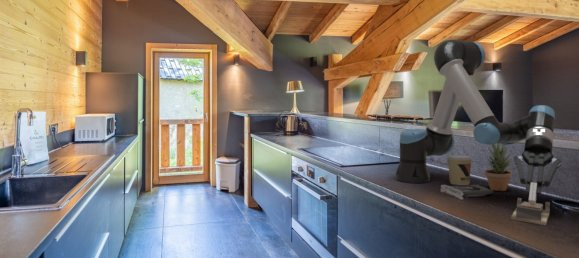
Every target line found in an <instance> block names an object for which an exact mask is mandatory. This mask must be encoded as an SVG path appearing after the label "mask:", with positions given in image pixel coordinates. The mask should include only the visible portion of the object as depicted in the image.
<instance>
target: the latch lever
mask: <svg viewBox="0 0 579 258" xmlns="http://www.w3.org/2000/svg"><path fill="white" fill-rule="evenodd" d="M519 206H521V207H528V208H534V209H541V210H544V205H543V203H538V202H536V205H529V201H522V203H521V204H520V205H519Z"/></svg>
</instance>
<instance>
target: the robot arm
mask: <svg viewBox="0 0 579 258" xmlns="http://www.w3.org/2000/svg"><path fill="white" fill-rule="evenodd" d="M485 60H486V51H485V48H484V47H483V45H482V44H480V43H478V42H475V41H471V40H459V39H446V40H445V41H443V42H441V43H440V44H439V45H438V46H437V47H436V49H435V51H434V55H433V61H434V65H435V68H436V69H437V72H438V73H439V75H441V76H444V77H445V81H444V84H443V86H442V90H441V93H440V96H439V99H438V102H437V105H436V107H435V111H434V115H433V118H432V121H431V122H430V123H428V124H427V125H426V128H413V129H412V128H411V129H406V130H403V131H401V132H400V135H399V163H398V167H397V169H396V171H395V180H397V181H398V182H404V183H409V184H410V183H411V184H424V183H429V182H430V181H431V175H430V171H429V169H428V166H427V157H434V156H438V157H439V156H443V155H447V154H449V153H450V152H451V151H452V150H453V149H454V146H455V139H454V138H455V137H454V135H453V134H454V131H453V129H452V124H453V123H454V120H455V117H456V114H457V110H458V109H459V105H460V104H461V106H462V107H463V109H464V111H465V113H466V115H467V116H468V118H469V119H470V121H471V123H472V124H473V126H474V129H473V131H472V132H473V138H474V140H475V142H477V143H479V144H481V145H491V144H495V145H496V144H497V143H500V145H502V146H503V145H505V146H509V145H515V144H516V143H519V142H522V141H524V140H525V142H524V150H523V152H522V153H521V155H518V156H517V155H514V156H513V162H514V164H515V165H516V168H517V172H518V178H519V181H520V182H519V183H520V184H521V185H525V194H527V195H528V202H529V205H536V203H537V196H541V195H542V191H543V190H542V188H543V187H546V188H549V187H550V185H551V183H552V181H553V178H554V176H555V175H556V173H557V170H558V169H559V168H560V167H562V159H561V158H555V157H554V155H553V145H554V144H553V143H554V129H555V122H556V117H555V116H556V113H555V110H554V109H553V108H552V107H551V106H548V105H544V104H543V105H542V104H540V105H535V106H533V107H532V108H531V109H530V110H529V112H528V115H526V116H524V117H522V118H520V119H517V120H514V121H511V122H509V121H507V122H499V121H498V119H497V118H496V116H495V114H494V113H493V111H492V110H491V108H490V106H489V105H488V103H487V102H486V100H485V99H484V97H483V95H482V94H481V93H480V91H479V89H478V88H477V86H476V84H475V83H474V82H473V80H472V78H471V77H473V76H474V74H475V72H476V71H475V70H478V69H479V68H480V67H482V66H483V65H484V62H485ZM523 161H524V162H525V163H526V165H528V168H527V176H526V178H525V175H524V174H525V173H524V169H523V165H522V163H523ZM550 163H551V166H550V168H549V169H548V172H547V173H546V176H545V178H544V167H546V166H548V165H549V164H550ZM535 168H537V175H536V176H537V178H536V182H533V177H534V169H535ZM543 179H544V180H543Z"/></svg>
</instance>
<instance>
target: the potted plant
mask: <svg viewBox="0 0 579 258" xmlns="http://www.w3.org/2000/svg"><path fill="white" fill-rule="evenodd" d="M490 145H491V147H492V148H493V151H492V150H491V149H490V147H489V146H487V148H488V150H489V153H490V154H489V156H488V158H486V160H487V161H488V164H489V166H490V167H491V169H487V170H486V169H485V170H484V176H486V180H487V183H488V186H489V190H493V191H499V192H505V191H507V189H508V187H509V183H510V180H511V178H512V177H513V172H512V171H509V168H508V167H509V166H510V165H511V163H512V162H513V161H512V158H511V159H509V158H510V156H512V153H509V154H508V155H507V156H506V154H507V151H508V146H506V145H502V147H501V146H500V145H501V144H500V143H495V144H490Z"/></svg>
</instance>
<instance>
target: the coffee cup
mask: <svg viewBox="0 0 579 258" xmlns="http://www.w3.org/2000/svg"><path fill="white" fill-rule="evenodd" d="M447 163H448V165H447V166H448V175H449V176H448V178H449V184H451V185H453V186H461V185H470V182H471V167H472V157H471V156H469V155H461V154H460V155H459V154H454V155H448V157H447Z"/></svg>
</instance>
